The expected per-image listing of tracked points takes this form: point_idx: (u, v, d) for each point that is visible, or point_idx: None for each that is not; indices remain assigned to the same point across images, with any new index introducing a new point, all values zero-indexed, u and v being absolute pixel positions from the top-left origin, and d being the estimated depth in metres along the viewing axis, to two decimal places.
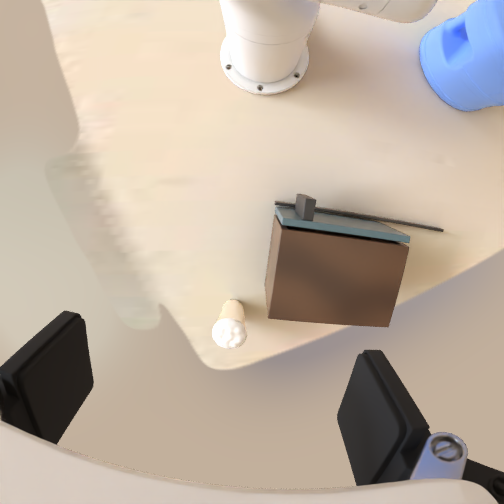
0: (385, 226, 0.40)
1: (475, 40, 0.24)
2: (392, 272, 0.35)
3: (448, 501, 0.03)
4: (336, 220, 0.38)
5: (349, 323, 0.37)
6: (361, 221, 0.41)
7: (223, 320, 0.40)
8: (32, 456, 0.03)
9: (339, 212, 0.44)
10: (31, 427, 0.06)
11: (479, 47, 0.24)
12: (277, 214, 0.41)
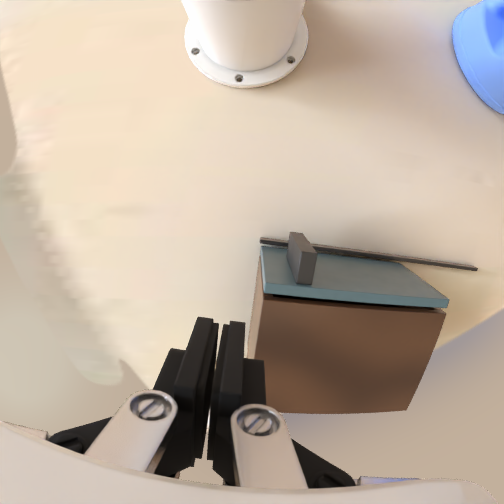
0: (411, 275, 0.28)
1: None
2: (420, 348, 0.23)
3: (448, 501, 0.03)
4: (346, 273, 0.26)
5: (356, 411, 0.25)
6: (379, 267, 0.30)
7: None
8: (32, 455, 0.03)
9: (348, 252, 0.32)
10: (193, 439, 0.07)
11: None
12: (261, 262, 0.29)
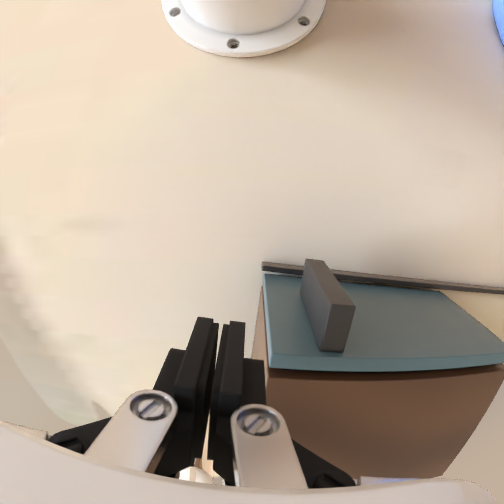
0: (460, 312, 0.20)
1: None
2: (472, 413, 0.15)
3: (448, 501, 0.03)
4: (385, 320, 0.17)
5: None
6: (421, 303, 0.21)
7: None
8: (32, 455, 0.03)
9: (380, 281, 0.23)
10: (193, 439, 0.07)
11: None
12: (264, 302, 0.20)
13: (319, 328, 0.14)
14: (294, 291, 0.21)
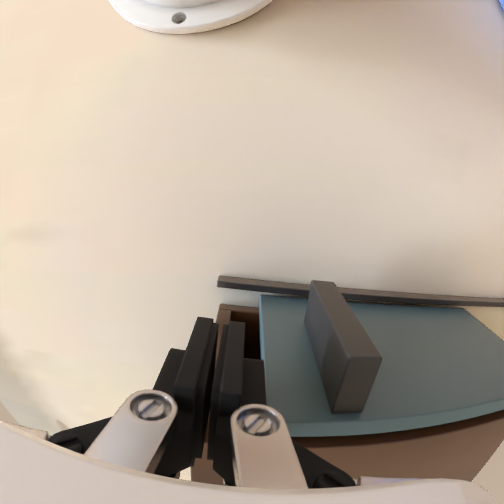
0: (489, 335, 0.15)
1: None
2: (472, 463, 0.10)
3: (448, 501, 0.03)
4: (409, 356, 0.13)
5: None
6: (446, 326, 0.17)
7: None
8: (32, 456, 0.03)
9: (365, 298, 0.19)
10: (193, 439, 0.07)
11: None
12: (260, 335, 0.16)
13: (331, 382, 0.10)
14: (297, 319, 0.17)
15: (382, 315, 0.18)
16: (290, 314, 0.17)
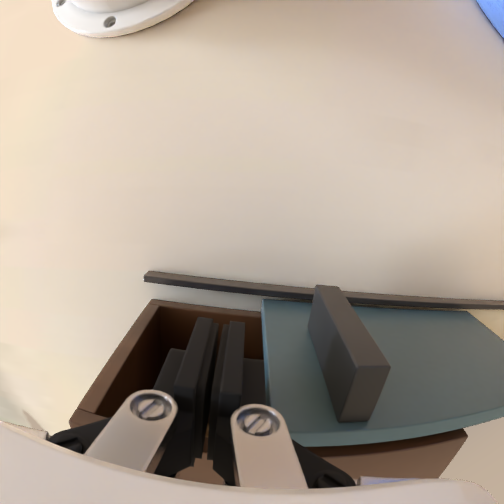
0: (494, 338, 0.15)
1: None
2: None
3: (448, 501, 0.03)
4: (414, 361, 0.13)
5: None
6: (450, 330, 0.16)
7: None
8: (32, 455, 0.03)
9: (298, 296, 0.19)
10: (193, 439, 0.07)
11: None
12: (263, 340, 0.15)
13: (337, 391, 0.10)
14: (300, 324, 0.16)
15: (386, 319, 0.17)
16: (293, 319, 0.17)
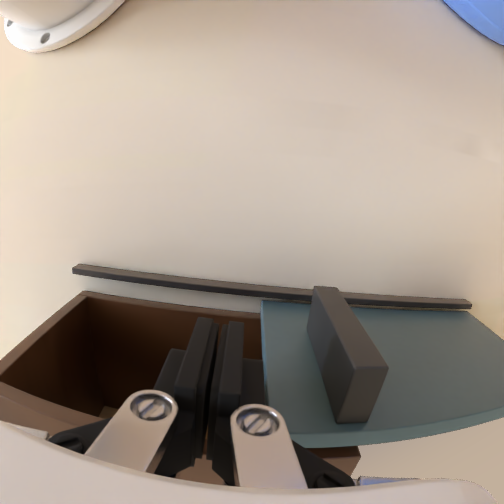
0: (494, 338, 0.15)
1: None
2: None
3: (448, 501, 0.03)
4: (414, 362, 0.13)
5: None
6: (450, 330, 0.16)
7: None
8: (32, 456, 0.03)
9: (210, 289, 0.18)
10: (193, 439, 0.07)
11: None
12: (262, 342, 0.15)
13: (336, 392, 0.10)
14: (299, 325, 0.16)
15: (386, 320, 0.17)
16: (292, 320, 0.17)
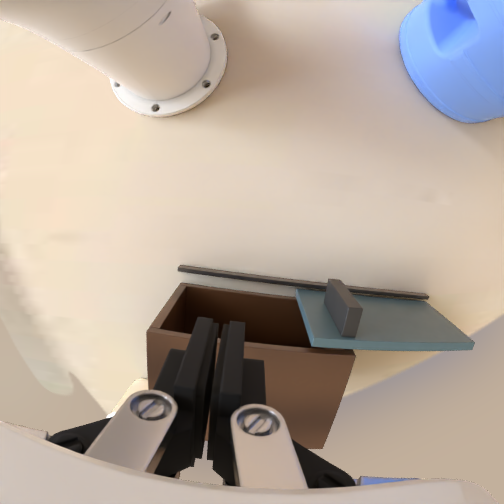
0: (438, 315, 0.28)
1: (480, 5, 0.12)
2: (326, 390, 0.23)
3: (448, 501, 0.03)
4: (381, 320, 0.26)
5: None
6: (408, 309, 0.29)
7: (114, 414, 0.28)
8: (32, 455, 0.03)
9: (269, 281, 0.32)
10: (193, 439, 0.07)
11: (488, 16, 0.12)
12: (300, 308, 0.29)
13: (340, 322, 0.23)
14: (320, 300, 0.29)
15: (368, 301, 0.31)
16: (315, 298, 0.30)
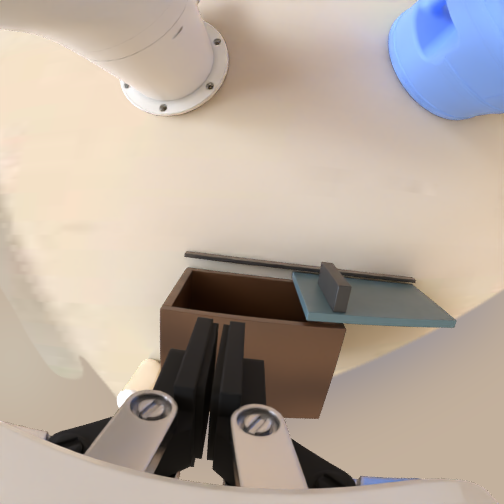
0: (423, 297, 0.32)
1: (460, 16, 0.15)
2: (320, 361, 0.26)
3: (448, 501, 0.03)
4: (370, 299, 0.30)
5: None
6: (396, 290, 0.33)
7: (125, 392, 0.31)
8: (32, 455, 0.03)
9: (268, 265, 0.35)
10: (193, 439, 0.07)
11: (467, 26, 0.15)
12: (296, 289, 0.32)
13: (332, 299, 0.26)
14: (314, 282, 0.33)
15: (359, 283, 0.34)
16: (310, 280, 0.33)
